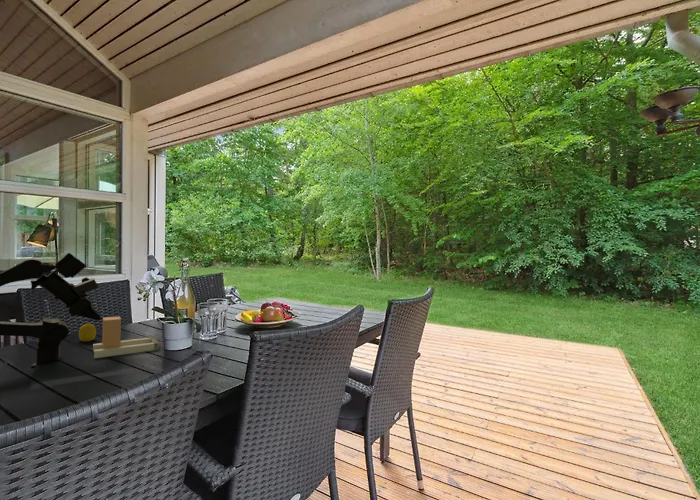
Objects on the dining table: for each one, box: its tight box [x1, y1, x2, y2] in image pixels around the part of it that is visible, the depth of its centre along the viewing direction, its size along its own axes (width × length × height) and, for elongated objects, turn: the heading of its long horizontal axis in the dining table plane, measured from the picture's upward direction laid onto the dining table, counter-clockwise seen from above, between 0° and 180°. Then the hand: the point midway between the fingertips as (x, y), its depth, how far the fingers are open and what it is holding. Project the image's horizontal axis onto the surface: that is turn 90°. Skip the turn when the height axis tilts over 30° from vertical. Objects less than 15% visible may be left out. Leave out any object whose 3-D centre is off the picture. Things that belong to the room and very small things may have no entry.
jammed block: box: [101, 315, 122, 349], centre depth 127 cm, size 5×5×12 cm
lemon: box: [78, 322, 97, 343], centre depth 139 cm, size 6×6×8 cm
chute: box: [92, 336, 160, 359], centre depth 130 cm, size 19×10×4 cm, turn 128°
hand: (99, 318), depth 125 cm, fingers open, 4 cm apart
